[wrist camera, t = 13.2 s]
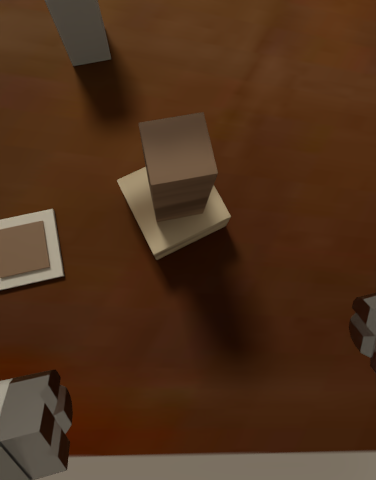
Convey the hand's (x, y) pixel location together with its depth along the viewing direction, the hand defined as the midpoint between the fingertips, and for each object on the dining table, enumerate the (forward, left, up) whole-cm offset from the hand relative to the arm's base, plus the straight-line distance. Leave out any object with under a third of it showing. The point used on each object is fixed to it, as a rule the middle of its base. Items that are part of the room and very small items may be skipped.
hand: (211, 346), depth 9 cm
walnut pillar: (+7, +10, -21) cm, 24 cm away
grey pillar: (+13, +31, -25) cm, 41 cm away
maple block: (+7, +9, -25) cm, 28 cm away
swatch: (-7, +17, -25) cm, 31 cm away
